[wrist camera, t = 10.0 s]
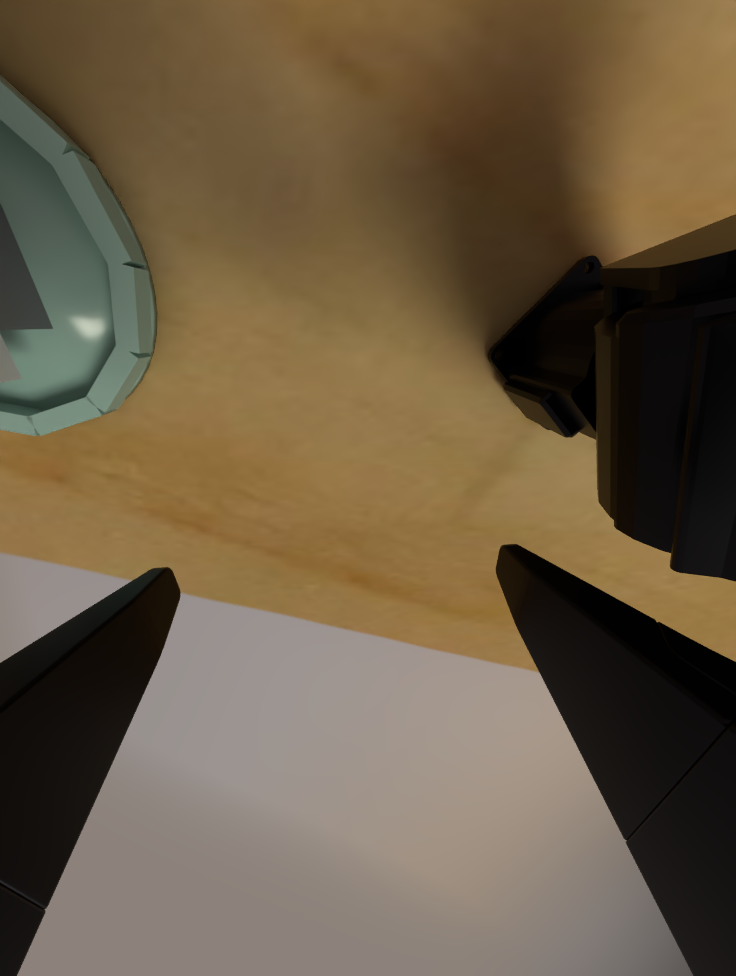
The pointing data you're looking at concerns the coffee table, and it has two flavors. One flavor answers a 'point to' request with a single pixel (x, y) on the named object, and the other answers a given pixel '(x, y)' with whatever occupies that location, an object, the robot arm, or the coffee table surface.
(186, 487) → the coffee table surface
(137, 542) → the coffee table surface
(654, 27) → the coffee table surface
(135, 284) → the dish
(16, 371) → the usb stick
